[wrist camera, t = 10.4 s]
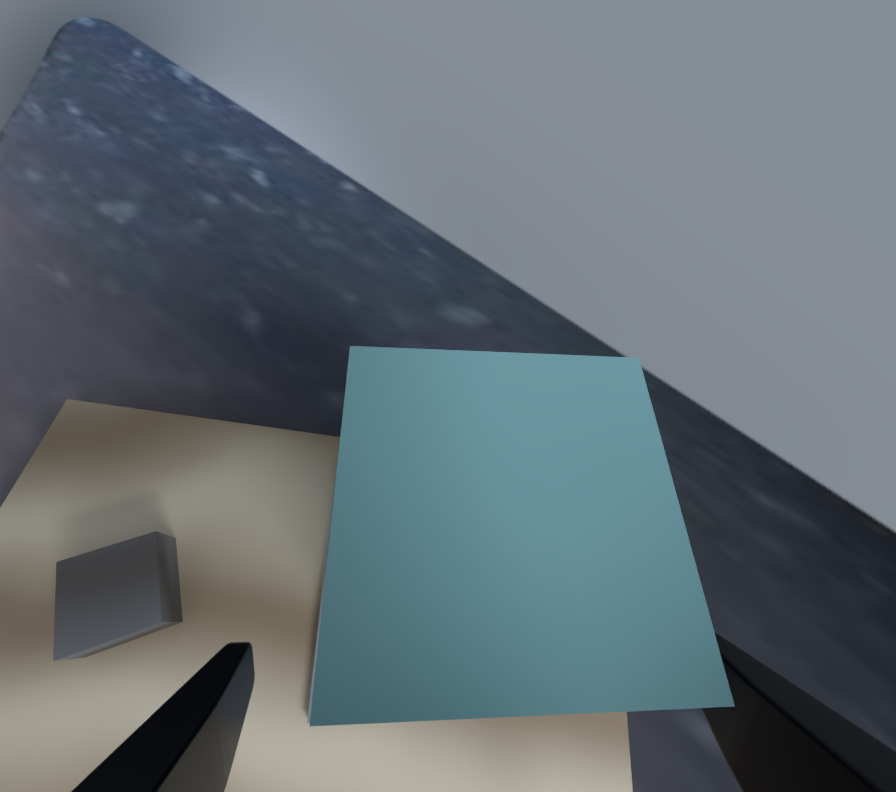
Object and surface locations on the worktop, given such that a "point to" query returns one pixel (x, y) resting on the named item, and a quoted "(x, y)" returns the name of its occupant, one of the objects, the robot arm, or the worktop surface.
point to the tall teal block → (506, 546)
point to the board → (216, 617)
